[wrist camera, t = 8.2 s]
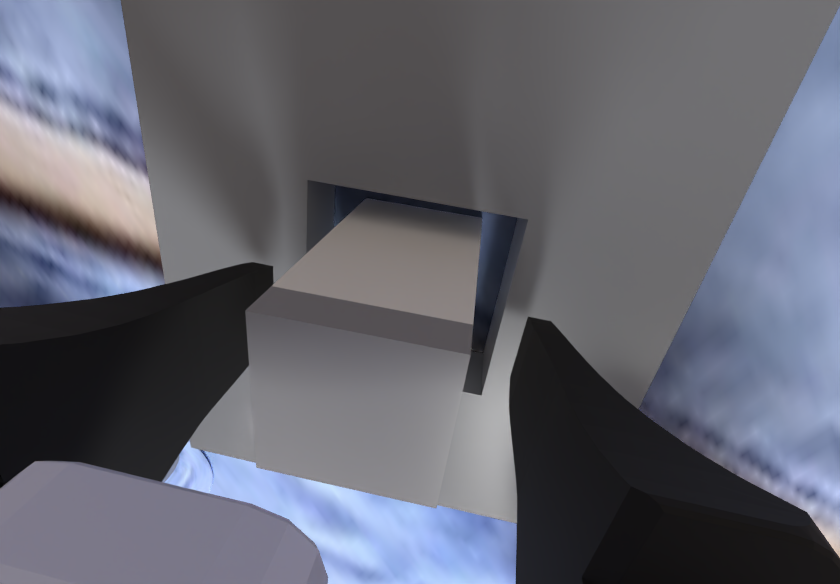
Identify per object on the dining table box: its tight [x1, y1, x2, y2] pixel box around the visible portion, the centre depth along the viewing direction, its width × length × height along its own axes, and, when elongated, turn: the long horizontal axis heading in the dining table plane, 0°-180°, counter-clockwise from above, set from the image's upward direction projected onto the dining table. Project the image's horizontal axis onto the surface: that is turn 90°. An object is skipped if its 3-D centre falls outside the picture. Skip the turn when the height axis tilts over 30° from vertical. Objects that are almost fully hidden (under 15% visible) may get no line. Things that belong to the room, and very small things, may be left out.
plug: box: [245, 198, 482, 508], centre depth 12 cm, size 4×4×8 cm
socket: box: [121, 0, 840, 523], centre depth 14 cm, size 18×16×2 cm
